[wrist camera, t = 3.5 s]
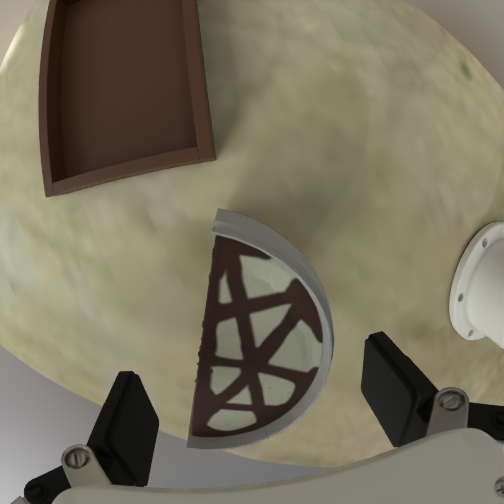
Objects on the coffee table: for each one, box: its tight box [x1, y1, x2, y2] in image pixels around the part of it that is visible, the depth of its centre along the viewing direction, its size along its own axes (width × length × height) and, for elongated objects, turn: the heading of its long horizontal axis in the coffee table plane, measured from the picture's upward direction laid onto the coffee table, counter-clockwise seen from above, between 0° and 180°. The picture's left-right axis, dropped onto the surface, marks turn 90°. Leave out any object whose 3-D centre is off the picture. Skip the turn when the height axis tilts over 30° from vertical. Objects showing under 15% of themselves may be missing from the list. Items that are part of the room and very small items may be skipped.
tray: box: [39, 0, 216, 197], centre depth 15 cm, size 12×18×3 cm, turn 8°
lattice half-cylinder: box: [187, 208, 334, 450], centre depth 16 cm, size 12×6×10 cm, turn 169°
